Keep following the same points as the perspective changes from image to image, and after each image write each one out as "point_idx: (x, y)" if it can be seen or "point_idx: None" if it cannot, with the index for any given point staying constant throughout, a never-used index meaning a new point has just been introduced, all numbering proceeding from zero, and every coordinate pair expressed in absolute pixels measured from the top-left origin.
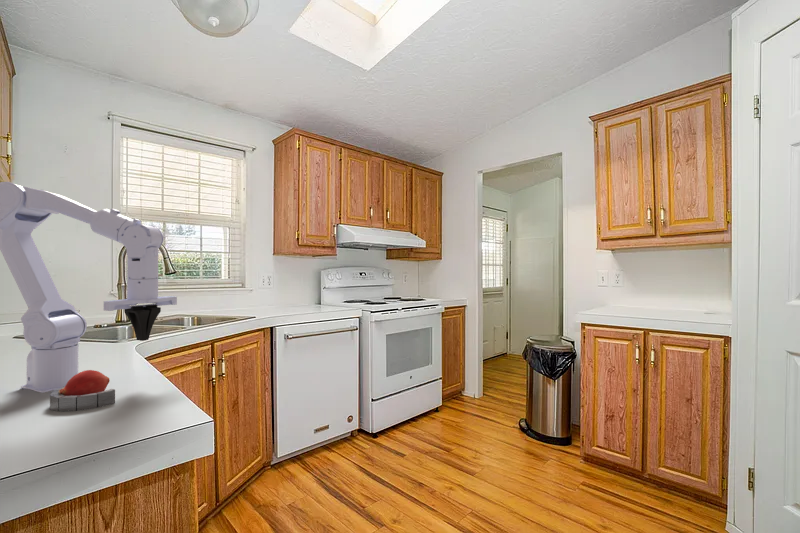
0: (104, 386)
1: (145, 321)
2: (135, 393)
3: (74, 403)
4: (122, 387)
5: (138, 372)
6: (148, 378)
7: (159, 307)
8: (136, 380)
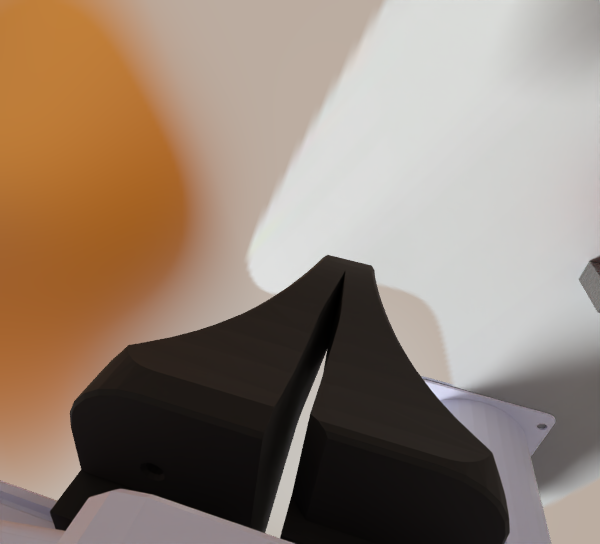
0: None
1: (352, 348)
2: (547, 53)
3: None
4: (459, 205)
5: None
6: (318, 205)
7: (85, 418)
8: (356, 231)
